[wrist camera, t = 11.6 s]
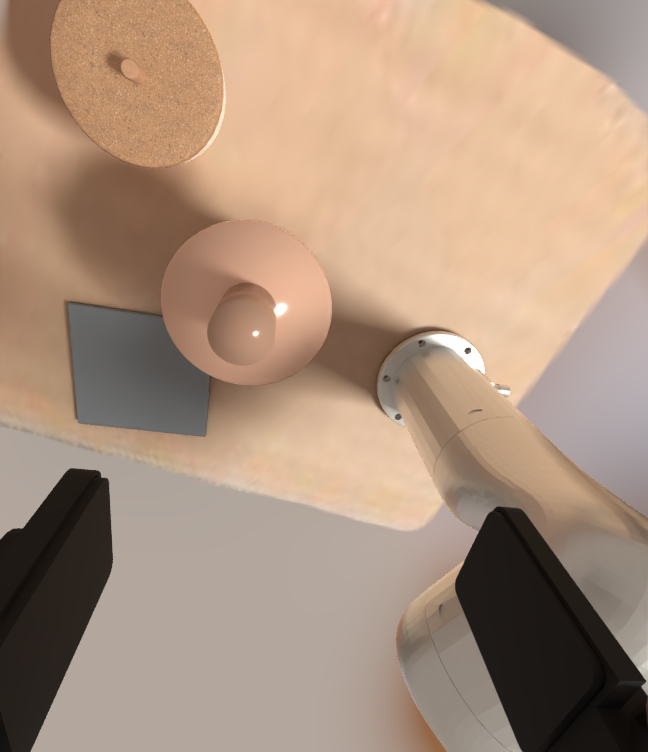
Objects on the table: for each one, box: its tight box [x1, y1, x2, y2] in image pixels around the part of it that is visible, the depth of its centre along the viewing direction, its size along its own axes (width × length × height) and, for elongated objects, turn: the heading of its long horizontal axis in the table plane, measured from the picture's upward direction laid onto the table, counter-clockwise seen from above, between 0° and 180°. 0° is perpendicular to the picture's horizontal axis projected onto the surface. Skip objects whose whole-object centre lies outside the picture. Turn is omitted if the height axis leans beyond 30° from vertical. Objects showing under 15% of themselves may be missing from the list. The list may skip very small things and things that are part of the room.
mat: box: [68, 302, 210, 437], centre depth 43 cm, size 14×14×1 cm
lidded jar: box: [50, 0, 226, 168], centre depth 28 cm, size 11×11×9 cm
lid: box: [161, 220, 332, 385], centre depth 26 cm, size 12×12×6 cm
